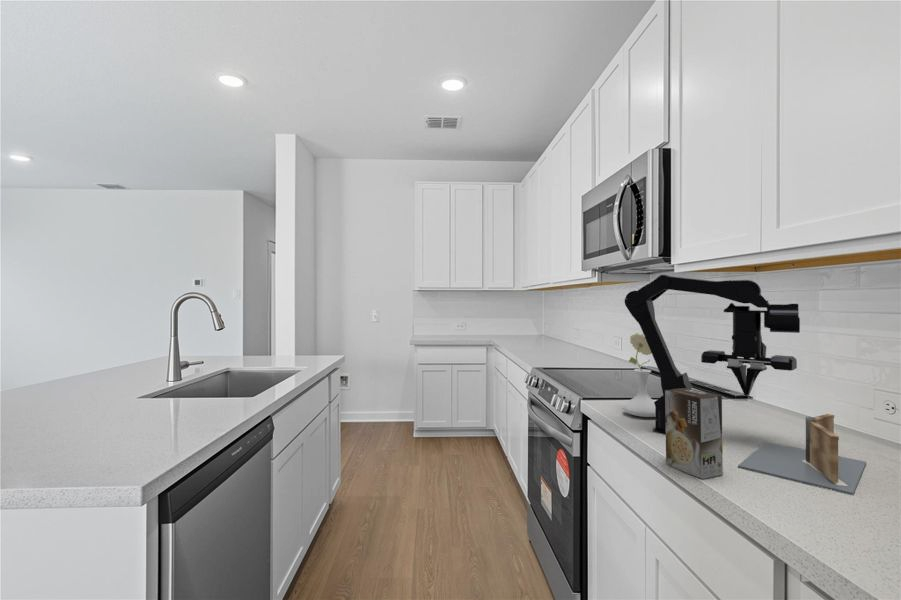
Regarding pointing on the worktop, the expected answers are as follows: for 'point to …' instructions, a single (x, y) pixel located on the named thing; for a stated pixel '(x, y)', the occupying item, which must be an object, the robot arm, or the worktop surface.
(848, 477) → the mat
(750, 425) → the worktop surface
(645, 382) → the flower in vase
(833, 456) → the fence panel
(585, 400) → the worktop surface
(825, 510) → the worktop surface
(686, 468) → the coffee box
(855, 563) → the worktop surface
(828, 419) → the fence fixed
